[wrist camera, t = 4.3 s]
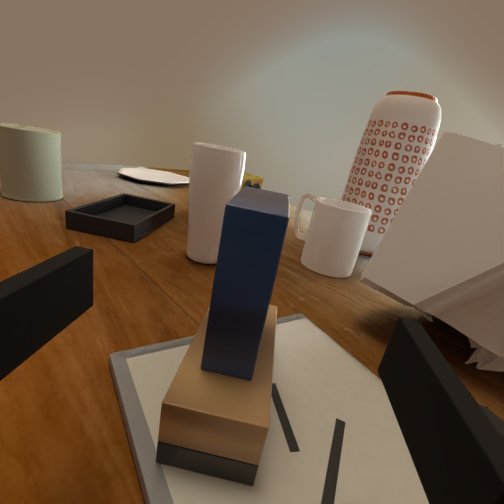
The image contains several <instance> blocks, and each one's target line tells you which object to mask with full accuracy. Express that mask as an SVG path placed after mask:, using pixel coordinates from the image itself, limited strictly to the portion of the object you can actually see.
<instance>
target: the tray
mask: <svg viewBox="0 0 504 504" xmlns="http://www.w3.org/2000/svg"><path fill="white" fill-rule="evenodd" d="M174 212H175V204H172V203H167V202H163V201H158V200H153V199H148V198H143V197H138V196H134V195H129V194H124V193H123V194H120V195H117V196H113V197H110V198H107V199H103V200H100V201H97V202H93V203H90V204H86V205H83V206H80V207H76V208H73V209H70V210H66V211H65V215H66V228H68V229H73V230H78V231H82V232H87V233H92V234H96V235H101V236H106V237H110V238H115V239H120V240H124V241H129V242H136V241H137V240H139V239H140V238H142V237H143V236H145V235H147V234H148V233H150V232H151V231H153V230H154V229H156V228H158V227H159V226H161V225H162V224H164V223H166V222H167V221H169V220H170V219H172V218H173V217H174Z"/></svg>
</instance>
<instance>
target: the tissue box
mask: <svg viewBox="0 0 504 504" xmlns="http://www.w3.org/2000/svg"><path fill="white" fill-rule="evenodd" d="M361 276H363V277H362V279H361V280H360V281H362V282H364V283H365V284H367V285H369V286H370V287H372V288H373V289H375V290H377V291H379V292H381V293H383V294H385V295H387V296H388V297H390V298H392V299H394V300H396V301H398V302H400V303H402V304H404V305H407V306H409V307H414V308H415V309H416V310H417V311H418V312H419V313H420V314H422V315H423V316H424V317H425V318H426V319H427V320H429V321H431V322H433V321H432V318H431V314H432V315H434V316H435V317H437V318H439V319H441V320H442V321H444V322H446V323H447V324H449V325H450V326H452V327H453V328H455V329H456V330H458V331H459V332H461V333H463V334H464V335H466V336H467V337H468V339H469V342H470V345H471V348H476V350H475V351H474V353H473V354H472V355H471V356H470V359H469V360H468V361H467V362H466V363H465V364H468V363H473V362H478V364H477V365H476V368H478V369H480V370H490V371H500V372H504V148H502V146H501V144H496V145H492V144H489V143H486V142H483V141H479V140H476V139H472V138H469V137H466V136H462V135H459V134H455V133H449V132H444V133H443V134H442V136H441V138H440V139H439V141H438V143H437V144H436V146H435V148H434V150H433V151H432V153H431V155H430V156H429V158H428V160H427V162H426V163H425V165H424V167H423V169H422V170H421V172H420V174H419V175H418V177H417V179H416V181H415V182H414V184H413V186H412V188H411V189H410V191H409V193H408V194H407V196H406V198H405V200H404V201H403V203H402V205H401V207H400V208H399V210H398V212H397V213H396V215H395V217H394V219H393V220H392V222H391V224H390V226H389V227H388V229H387V231H386V232H385V234H384V236H383V238H382V239H381V241H380V243H379V245H378V246H377V248H376V250H375V251H374V253H373V255H372V257H371V258H370V260H369V262H368V264H367V265H366V267H365V269H364V270H363V272H362V274H361Z"/></svg>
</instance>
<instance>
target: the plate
mask: <svg viewBox="0 0 504 504" xmlns="http://www.w3.org/2000/svg"><path fill="white" fill-rule="evenodd" d="M117 173H118V174H120V175H123V176H126V177H129V178H132V179H135V180H138V181H141V182H145V183H152V184H159V185H177V184H189V178H188V177H185V176H181V175H178V174H174V173H171V172H165V171H159V170H152V169H145V168H121V169H120V170H119V171H118V172H117Z"/></svg>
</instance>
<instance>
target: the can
mask: <svg viewBox="0 0 504 504" xmlns="http://www.w3.org/2000/svg"><path fill="white" fill-rule="evenodd" d="M0 178H1V195H2V196H3V197H6V198H9V199H13V200H18V201H27V202H49V201H56V200H60V199H62V198H63V197H64V196H63V191H62V172H61V133H60V132H58V131H55V130H50V129H45V128H39V127H33V126H27V125H22V124H9V123H0Z"/></svg>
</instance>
